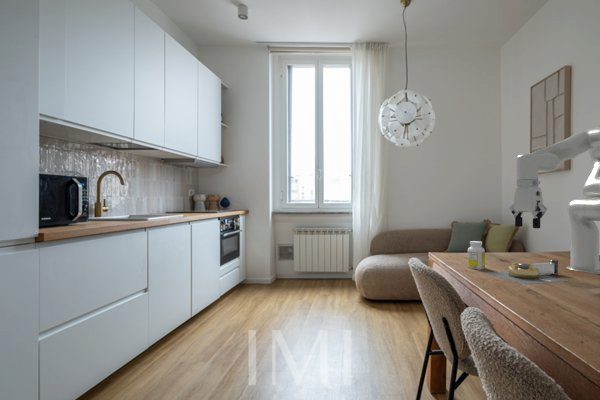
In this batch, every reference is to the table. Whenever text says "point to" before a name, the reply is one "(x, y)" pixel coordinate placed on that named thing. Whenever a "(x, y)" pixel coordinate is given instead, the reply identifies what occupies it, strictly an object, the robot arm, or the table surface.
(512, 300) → the table surface
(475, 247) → the supplement bottle
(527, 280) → the base plate
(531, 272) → the multicoloured piece
